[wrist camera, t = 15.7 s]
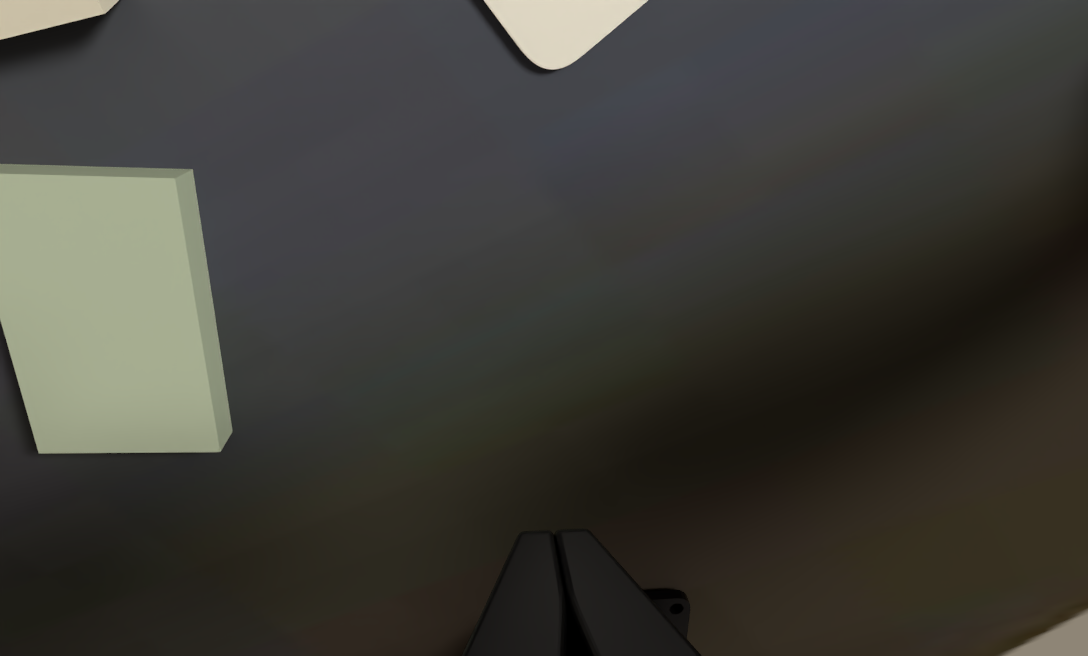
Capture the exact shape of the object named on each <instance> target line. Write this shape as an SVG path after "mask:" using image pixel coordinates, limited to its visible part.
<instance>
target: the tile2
mask: <svg viewBox="0 0 1088 656" xmlns="http://www.w3.org/2000/svg"><path fill="white" fill-rule="evenodd" d="M118 1H119V0H0V40H1V39H5V38H9V37H13V36H17V35H21V34H25V33H29V32H33V31H37V30H41V29H45V28H50V27H54V26H58V25H62V24H66V23H70V22H74V21H78V20H82V19H86V18H90V17H94V16H98V15H102V14H105V13H107V12H108V11H109V10H110V9H111V8H112V7H113V6H114V5H115V4H116V3H117V2H118Z"/></svg>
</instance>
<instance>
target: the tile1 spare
mask: <svg viewBox="0 0 1088 656" xmlns="http://www.w3.org/2000/svg"><path fill="white" fill-rule="evenodd" d="M0 320H1V324H2V327H3V331H4V334H5V338H6V341H7V345H8V348H9V352H10V355H11V359H12V362H13V366H14V369H15V373H16V376H17V380H18V383H19V387H20V390H21V394H22V397H23V400H24V404H25V407H26V411H27V414H28V418H29V421H30V425H31V428H32V432H33V435H34V439H35V442H36V446H37V449H38V453H165V452H221V450H222V448H223V447H224V445H225V443H226V442H227V440H228V438H229V437H230V435H231V433H232V425H231V419H230V412H229V405H228V399H227V392H226V386H225V379H224V373H223V366H222V359H221V353H220V346H219V340H218V333H217V327H216V320H215V313H214V307H213V300H212V294H211V287H210V281H209V274H208V267H207V261H206V254H205V248H204V241H203V235H202V228H201V221H200V215H199V208H198V202H197V195H196V189H195V182H194V175H193V169H164V168H127V167H91V166H54V165H18V164H0Z"/></svg>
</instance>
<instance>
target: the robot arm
mask: <svg viewBox="0 0 1088 656" xmlns="http://www.w3.org/2000/svg"><path fill="white" fill-rule="evenodd" d="M677 603H678V604H677ZM673 604H677V605H675V606H672V605H673ZM689 614H690V604H689V601H688V598H687V596H686V594H685V593H684V592H682V591H680V590H665V591H648V592H644V591H643V590H642V589H641V587H640V586H639V585H638V584H637V583H636V582H635V581H634V580H633V579H632V577H631V576H630V575H629V574H628V573H627V572H626V571H625V570H624V568H623V567H622V566H621V565H620V564H619V563H618V562H617V561H616V560H615V558H614V557H613V556H612V555H611V554H610V553H609V552H608V551H607V549H606V548H605V547H604V546H603V545H602V544H601V543H600V542H599V541H598V539H597V538H596V537H595V536H594V535H593V534H592V533H591V532H590V531H589V530H587V529H563V530H558V531H556V532H555V534H554V535H553V533H552V532H551V531H549V530H543V531H524V532H521V533H520V534H519V535H518V536H517V538H516V540H515V543H514V545H513V547H512V549H511V551H510V553H509V555H508V558H507V560H506V562H505V564H504V566H503V568H502V571H501V573H500V575H499V577H498V579H497V581H496V583H495V586H494V588H493V590H492V592H491V594H490V596H489V598H488V601H487V603H486V605H485V607H484V609H483V611H482V614H481V616H480V618H479V620H478V622H477V624H476V626H475V629H474V631H473V633H472V635H471V637H470V639H469V641H468V644H467V646H466V648H465V650H464V652H463V654H462V656H701V655H700V654H699V652H698V651H697V650H696V649H695V648H694V647H693V646H692V645H691V643H690V642H689V641H688V640H687V631H688V622H689Z"/></svg>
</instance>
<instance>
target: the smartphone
mask: <svg viewBox="0 0 1088 656" xmlns="http://www.w3.org/2000/svg"><path fill="white" fill-rule="evenodd" d="M647 1H648V0H484V2H485V3H486V5H487V6H488V7H489V8H490V10H491V11H492V13H493V14H494V15H495V17H496V18H497V19H498V21H499V22H500V23H501V25H502V26H503V27H504V29H505V30H506V31H507V33H508V34H509V35H510V37H511V38H512V39H513V41H514V42H515V43H516V45H517V46H518V47H519V48H520V50H521V51H522V52H523V53H524V54H525V56H526V57H527V58H528V59H529V60H531V61H532V62H533V63H534V64H536V65H537V66H539V67H541V68H544V69H550V70H555V69H560V68H563V67H566V66H568V65H570V64H571V63H573V62H574V61H576V60H577V59H579V58H580V57H581V56H582V55H584V54H585V53H586V52H587V51H588V50H590V49H591V48H592V47H593V46H594V45H596V44H597V43H598V42H599V41H600V40H602V39H603V38H604V37H605V36H606V35H608V34H609V33H610V32H611V31H612V30H613V29H615V28H616V27H617V26H618V25H619V24H621V23H622V22H623V21H624V20H625V19H627V18H628V17H629V16H630V15H631V14H632V13H634V12H635V11H636V10H637V9H638V8H640V7H641V6H642V5H643V4H644V3H646V2H647Z"/></svg>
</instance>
